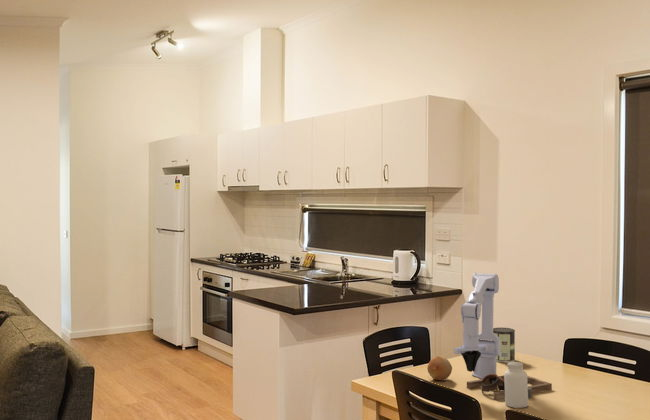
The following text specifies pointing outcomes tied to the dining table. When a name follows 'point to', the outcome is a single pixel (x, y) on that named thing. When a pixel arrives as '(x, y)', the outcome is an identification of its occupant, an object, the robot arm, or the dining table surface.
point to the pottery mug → (492, 383)
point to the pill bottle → (516, 386)
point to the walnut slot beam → (537, 387)
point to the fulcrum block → (529, 392)
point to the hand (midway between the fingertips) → (470, 370)
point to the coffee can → (506, 344)
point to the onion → (439, 368)
